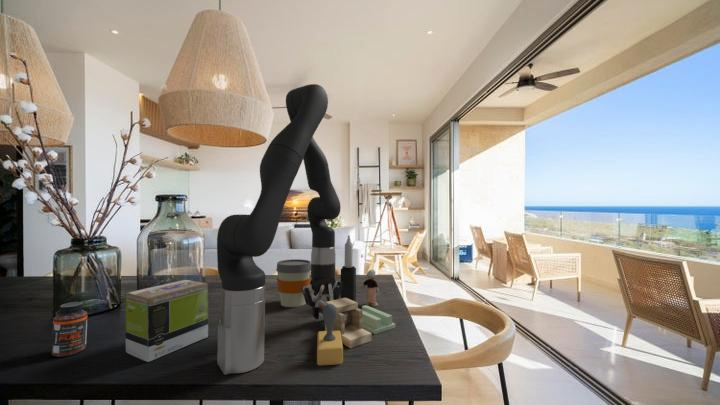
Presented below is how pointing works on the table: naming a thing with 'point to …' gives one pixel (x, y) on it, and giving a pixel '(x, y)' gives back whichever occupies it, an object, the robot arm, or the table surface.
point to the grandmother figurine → (371, 288)
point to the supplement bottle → (69, 330)
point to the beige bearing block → (354, 330)
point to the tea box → (165, 318)
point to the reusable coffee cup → (293, 281)
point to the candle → (348, 274)
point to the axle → (347, 315)
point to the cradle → (376, 320)
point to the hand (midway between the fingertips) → (322, 316)
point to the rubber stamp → (329, 340)
